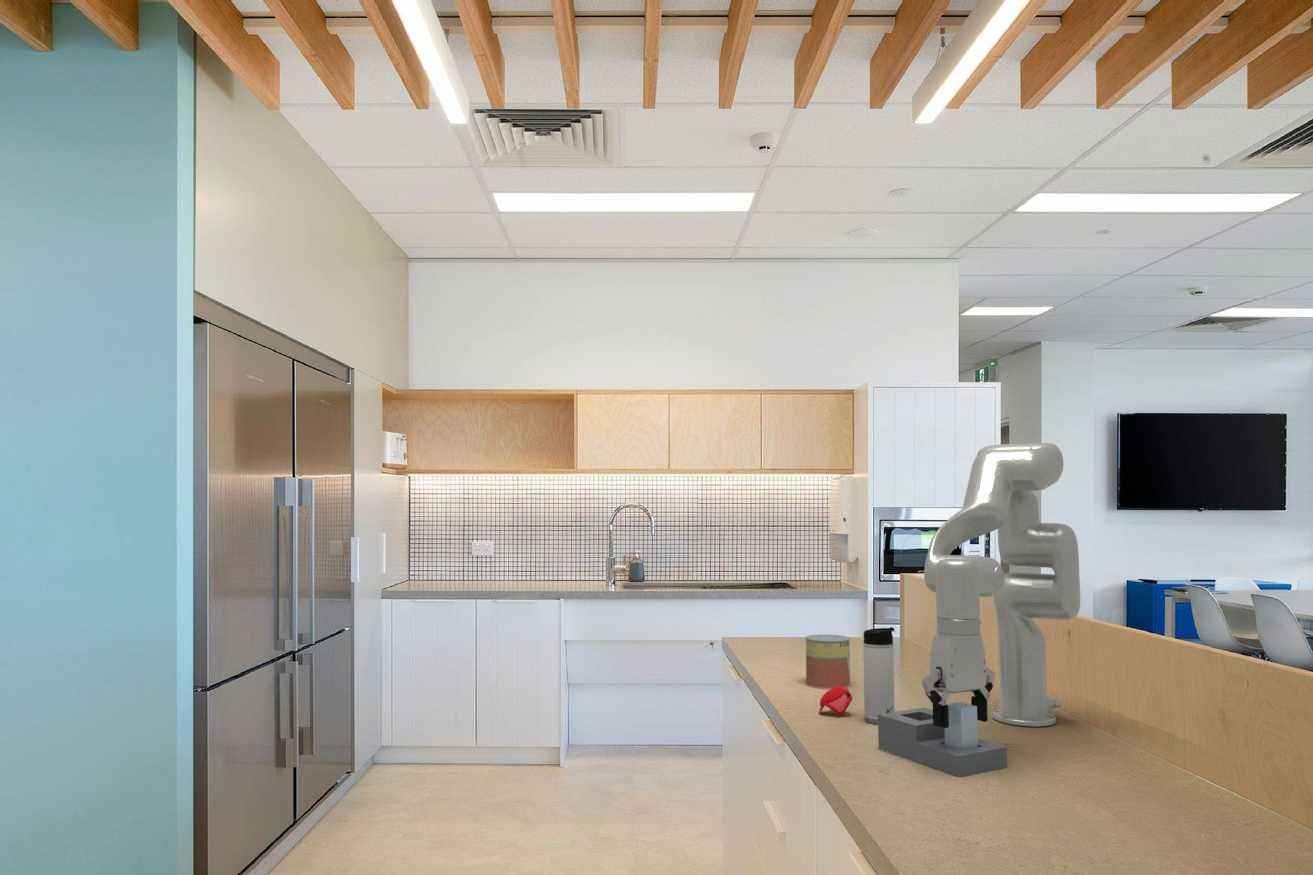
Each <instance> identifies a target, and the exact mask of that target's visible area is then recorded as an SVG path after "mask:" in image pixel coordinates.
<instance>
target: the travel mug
mask: <svg viewBox="0 0 1313 875" xmlns="http://www.w3.org/2000/svg"><path fill="white" fill-rule="evenodd" d="M893 632H896V631H895V628H894V627H892V626H891V627H879V628H878V627H877V628H870V629H866V630H864V632H863V642H862V644H863V690H864V691H863V694H864V696H863V698H864V699H863V700H864V701H863V702H864V703H863V704H864V705H863V706H864V721H865V723H868V724H870V723H871V724H872V725H877V726H878V714H883V713H890V712H895V678H894V676H895V672H894V670H895V669H894V668H895V667H894V664H895V663H894V641H893V639H894V637H893Z"/></svg>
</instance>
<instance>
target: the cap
mask: <svg viewBox="0 0 1313 875" xmlns="http://www.w3.org/2000/svg"><path fill="white" fill-rule="evenodd" d="M852 700H853V696H852V694H851V691H850V689H848V688H846V687H835V688H833V689H828V690H827V691H826V692H825V693H824V694H823V695H822V697H821V698H820V700H819V705H820V709H819V711H818V714H821V712H822V711H823V710H824V707H827V708H829V709H830V711H832V712H833V713H836V714H837V716H838V717H841V716H842V717H844V716H845V712H846V710H847V709H848V707H849V706H850V704H851V703H852Z"/></svg>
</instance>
